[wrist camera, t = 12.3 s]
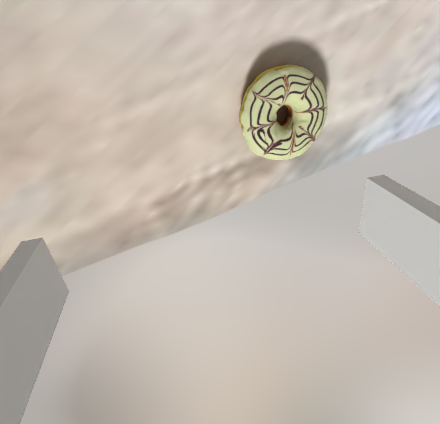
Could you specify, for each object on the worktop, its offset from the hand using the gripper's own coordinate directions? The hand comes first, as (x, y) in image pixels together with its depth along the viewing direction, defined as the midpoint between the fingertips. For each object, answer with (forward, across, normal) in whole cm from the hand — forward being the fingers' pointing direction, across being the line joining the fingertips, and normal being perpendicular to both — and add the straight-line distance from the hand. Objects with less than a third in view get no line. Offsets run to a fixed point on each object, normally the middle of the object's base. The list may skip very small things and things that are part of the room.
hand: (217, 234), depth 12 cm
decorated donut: (+27, +12, -2) cm, 30 cm away
